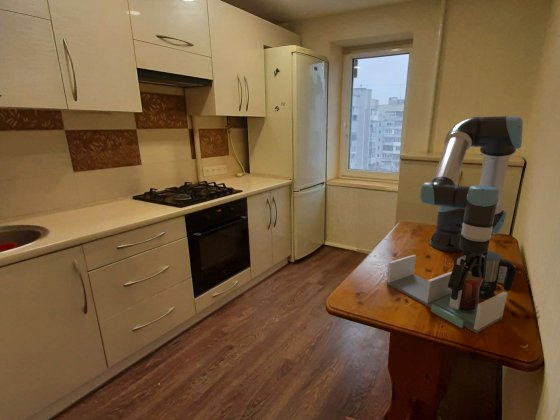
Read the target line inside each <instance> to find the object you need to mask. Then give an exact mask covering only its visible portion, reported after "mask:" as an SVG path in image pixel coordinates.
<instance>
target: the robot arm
mask: <svg viewBox="0 0 560 420" xmlns="http://www.w3.org/2000/svg"><path fill="white" fill-rule="evenodd" d="M523 123H524V122H523V118H522V117H521V116H511V115H506V116H473V117H469V118H466V119H463V120H462V121H460V122H457V124H456V125H454V126H453V127H452V128H451V129H450V130H449V132H448V133H447V134H446V136H445V138H444V148H443V152H442V153H441V156H440V159H439V161H438V164H437V167H436V170H435V172H434V175H433V177H432V180H431V181H429V182H424V183H423V184H422V185H421V188H420V192H419V193H420V195H419V199H420V202H421V203H422V204H425V205H430V206H438V209H437V212H438V213H437V219H436V220H437V221H436V224H435V225H436V227H435V230H434V232H433V234H432V235H431V238H430V241H429V245H430V246H431V247H432V248H434V249H436V250H439V251H440V250H441V251H443V252H449V253H450V252H451V253H457V252H459V253H460V252H462V253H461V255H460V257H458V256H456V257H454V261H453V267H452V270H451V271H452V273H451V276H450V280H449V283H448V288H450V289H452V292H451V298H450V303H449V306H451V307H452V308H454V309H456V310H459V306H460V300H461V295H462V290H461V288H462V285H463V283H464V281H465V279H466V276H467V274H468V272H469V271H471V273H472V276H473V277H480V276H481V277H482V278H483V279H484V278H485V276H486V258H487V254H488V252H487V251H489V247H490V239H492V238H491V237H492V234H493V235H496V234H499V233H500V232H501V230H502V229H503V227H504V223H505V220H506V217H507V210H506V209H505V208H504V205H503V204H502V203H501V200H502V195H503V190H504V186H505V181H506V176H507V170H508V165H509V161H510V157H511V156H512V155H514V154H515V153H516V150H518V149H521V148H522V142H523V140H522V139H523ZM471 147H472V148H474V147H475V148H480V150H479V151H480V153H481V154H482V156H483V157H482V165H481V172H480V178H479V184H477V185H471V186H468V185H456V184H457V182H458V178H459V175H460V172H461V169H462V165H463V163H464V159H465V156H466V154H467V151H468V150H469V149H470V148H471ZM481 273H482V274H481ZM484 281H485V280H483V281H482V283H484Z"/></svg>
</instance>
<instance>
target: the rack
mask: <svg viewBox="0 0 560 420" xmlns="http://www.w3.org/2000/svg"><path fill="white" fill-rule="evenodd" d="M416 259H417V255H415V254H412V255H409V256H405V257H401V258H399V259H398V258H397V259H394V260H392V261H389V262H388V269H387V279H386V285H388V286H390V287H391V288H393V289H396V290H397V291H399V292H401V293H402V294H404V295H406V296H408V297H410V298H411V299H413V300H415V301H418V302H419V303H421V304H423V305H424V306H425V307H428V308H430V312H431V313H433V314H434V315H436V316H439V317H441V319H444V320H446V321H448V322H450V323H451V324H453V325H455V326H457V327H458V328H460V329H463V328H467V329H468V330H470V331H472V332H474V333H475V334H478V333H480V332H481V331H483V330H485V329H487V328H489V327H491V326H492V325H494V324H495V323H497V322H499V321H501V320H502V319H503V315H504V311H505V306H506V303H507V297H508V292H507V291H503V292H500V293H498V294H496V295H494V297H492V298H487V299H486V300H484V301H482V302H480V303H478V306H477V309H475V310H472V311H467V310H462V309H459V310H456V309H454V308H452V307H451V306H449V303H450V298H451V292H452V289H450V288H448V283H449V280H450V276H451V273H452V270H451V271H449V272H447V273H444V274H441V275H438V276H436V277H433V278H431V279H425V278H422V277H420V276H418V275H417V274H415V267H416Z"/></svg>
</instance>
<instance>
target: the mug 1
mask: <svg viewBox="0 0 560 420" xmlns="http://www.w3.org/2000/svg"><path fill="white" fill-rule="evenodd" d="M482 281H483V278H482V277H481V276H480V277H473V276H472V273H468V274H467V276H466V279H465V281H464V283H463V285H462V288H461V290H462V295H461V300H460V306H459V309H462V310H467V311H472V310H475V309H477V306H478V304H480V303H479V302H480V297H479V289H480V286H481V283H482Z"/></svg>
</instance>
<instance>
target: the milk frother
mask: <svg viewBox="0 0 560 420" xmlns="http://www.w3.org/2000/svg"><path fill="white" fill-rule="evenodd" d="M487 252H488V254H487V258H486V276H485V278H484V279H483V280H485V281H484V283H481V286H480V289H479V298H483V299H490V298H492V297H494V296H496V295H495V292H496V290H497V283H498V282H497V281H498V275H499V269H500V266H505V267H507V272H506V276H505V280H504V283H503V284H502V288H503V290H504V292H509V291H511V290H512V289H511V288H512V285H513V282H514V280H515V275H516V273H517V272H516V271H517V270H516V268H515V267H514V265H515V264H513V263H512V261H510V260H508V259H504V258H502V257H503V256H501V254H499V253H498V252H495V251H491V250H488V251H487ZM468 273H471V271H469V272H468ZM481 274H482V273H481Z"/></svg>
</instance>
